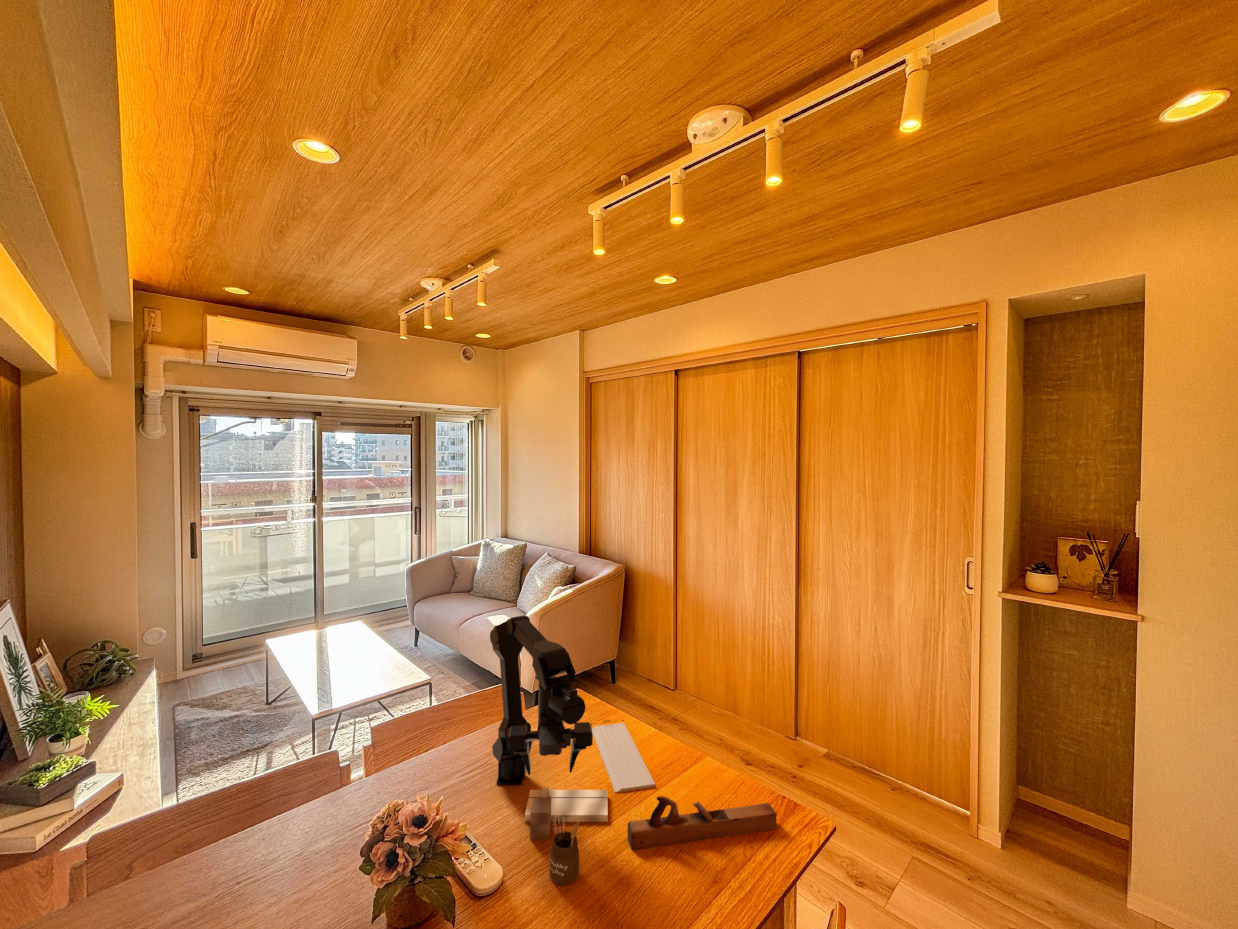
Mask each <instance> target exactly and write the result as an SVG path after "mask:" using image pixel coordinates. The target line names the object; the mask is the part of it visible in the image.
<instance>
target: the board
mask: <svg viewBox="0 0 1238 929" xmlns="http://www.w3.org/2000/svg"><path fill="white" fill-rule="evenodd" d="M542 794H543V789H530V790H529V794H528V799H527V803H526V808H525V813H524V822H525V823H530V821H531V808H532V804H533V799H534V798H542ZM548 798H551V823H553V821H554V823H555V822H556V823H563V822H562V821H564V820H565V821H564V823H578V821H579V823H608V815H609V814H608V805H609V804H608V789H549V792H548ZM558 814H559V816H556V815H558ZM560 815H561V816H560ZM562 816H563V817H564V818H563V817H562ZM556 817H557V818H556ZM558 818H559V820H560V822H559V821H558ZM561 818H562V819H561ZM555 819H556V820H555Z"/></svg>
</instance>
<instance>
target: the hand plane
mask: <svg viewBox="0 0 1238 929" xmlns="http://www.w3.org/2000/svg"><path fill="white" fill-rule="evenodd" d="M656 800H657V802H658V804H657V805H656V806H655V808H654V809H653V811H652V812H651V815H650V817H649V818H647V819H638V820H629V821H628V822H627V842H628V844H629V846H630V847H629V848H630V850H631V851H637V850H644V849H646V850H647V849H652V848H658V847H664V846H672V845H679V844H686V843H693V842H700V841H706V840H714V839H719V838H720V839H721V838H727V837H735V836H741V835H742V836H743V835H749V834H750V835H751V834H755V833H756V834H757V833H762V832H763V833H764V832H768V831H774V830H777V812H776V811H775V809H774V808H773V807H772V805H771V804H770V803H769V802H766V803H759V804H752V805H751V804H750V805H745V806H738V807H737V806H736V807H730V808H729V807H728V808H723V809H715V810H713V809H712V810H707V809H706V808H705V807H704V806H703V804H701V803H700V801H696V802H693V803H692V805H693V806H694V808H696V809H697V812H691V813H685V814H684V813H682V814H680V813H679V808H678V803H677V802H676V801H675V800H673V799H670V798H668V797H666V796H664V795H662V796H661V795H660V796H657V797H656ZM667 807H670V810H669V813H668V814H667V816H662V815H663V814H664V813H665V810H666V808H667Z"/></svg>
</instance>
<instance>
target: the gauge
mask: <svg viewBox="0 0 1238 929" xmlns="http://www.w3.org/2000/svg"><path fill="white" fill-rule="evenodd" d="M542 790H543V794H542V798H534V799H533V804H532V808H531V821H530V822H529V824H530V826H529V827H530V830H529V831H530V833H529V834H530V835H529V840H530V841H531V840H532V841H533V840H537V841H538V840H542V841H543V840H546V841H547V840H549V837H550V831H551V825H552V822H551V798H548V792H549V790H550V789H549V787H543V788H542Z"/></svg>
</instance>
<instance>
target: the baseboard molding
mask: <svg viewBox="0 0 1238 929" xmlns="http://www.w3.org/2000/svg"><path fill="white" fill-rule="evenodd" d="M624 721H625V720H624V719H623V720H622V722H619V723H615V722H616V721H615V720H614V721H612V724H611V723H610V724H605V723H609V722H610V719H607V720H603V722H602V723H603V724H602V725H595V724H597V723H596V722H595V723H593V722H592V723H590V724H591V725H595V726H594V727H592V734H593V735H594V736H593V739H594V738H595V739H594V741H595V743H596V746H597V749H598V752H599V751H600V752H599V754H600V757H601V759H602V762H603V764H604V767H606V768H605V770H606V772H607V776H608V775H609V776H608V778H609V780H610V783H612V784H611V786H612V788H613V791H614V793H615V794H618V793H617V792H619V793H623V791H625V792H631V790H632V791H638V790H637V789H639V790H645V789H644V788H646V789H652V788H651V787H653V788H655V787H656V783H655V781H654V779H653V776H652V775H651V773H650V771H649V769H648V767H647V765H646V764H645V761H644V759H643V757H642V755H641V753H640V751H639V749H638V747H637V745H636V744H635V742H634V741H635V740H633V737H632V736H631V734H630V732H629V730H628V728H627V726H626V724H625V722H624Z"/></svg>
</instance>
